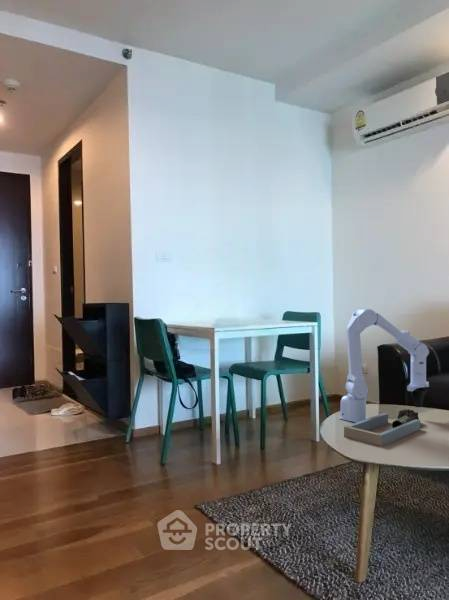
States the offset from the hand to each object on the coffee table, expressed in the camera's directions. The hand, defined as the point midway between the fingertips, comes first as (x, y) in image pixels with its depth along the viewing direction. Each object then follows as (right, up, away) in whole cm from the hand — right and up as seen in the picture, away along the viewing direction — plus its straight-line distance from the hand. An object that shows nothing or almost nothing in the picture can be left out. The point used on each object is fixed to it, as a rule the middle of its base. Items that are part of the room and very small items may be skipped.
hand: (418, 406), depth 187 cm
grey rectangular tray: (-20, -5, -18) cm, 28 cm away
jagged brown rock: (-9, -6, -10) cm, 15 cm away
